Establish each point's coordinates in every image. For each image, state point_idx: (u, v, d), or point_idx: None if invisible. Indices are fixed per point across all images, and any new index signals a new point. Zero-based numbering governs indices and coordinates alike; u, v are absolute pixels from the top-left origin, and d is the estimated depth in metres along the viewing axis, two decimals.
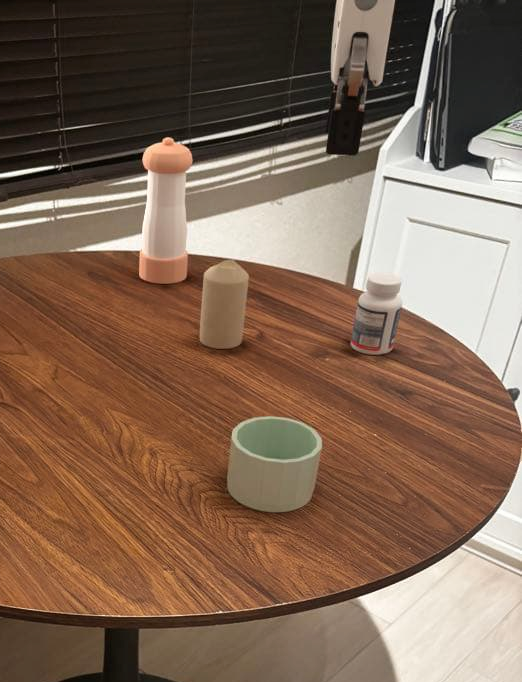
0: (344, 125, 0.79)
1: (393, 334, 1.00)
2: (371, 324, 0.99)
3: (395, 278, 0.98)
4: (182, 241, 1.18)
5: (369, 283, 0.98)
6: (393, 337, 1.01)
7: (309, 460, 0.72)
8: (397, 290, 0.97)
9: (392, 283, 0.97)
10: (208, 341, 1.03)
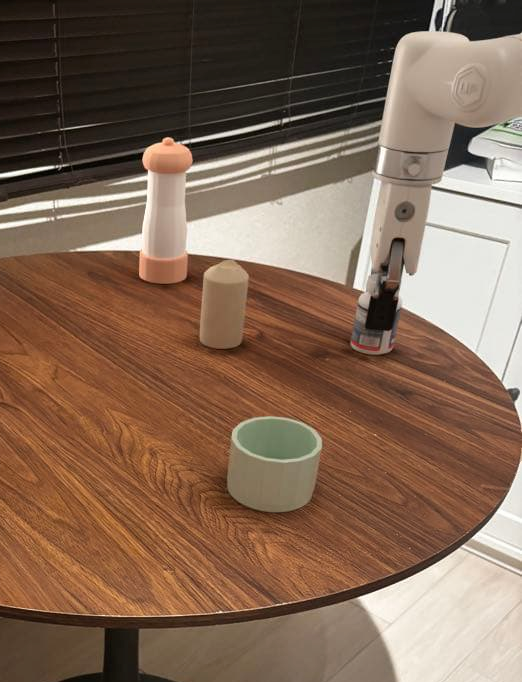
0: (381, 310, 0.96)
1: (393, 334, 1.00)
2: None
3: None
4: (182, 241, 1.18)
5: (369, 283, 0.98)
6: (393, 337, 1.01)
7: (309, 460, 0.72)
8: None
9: None
10: (208, 341, 1.03)
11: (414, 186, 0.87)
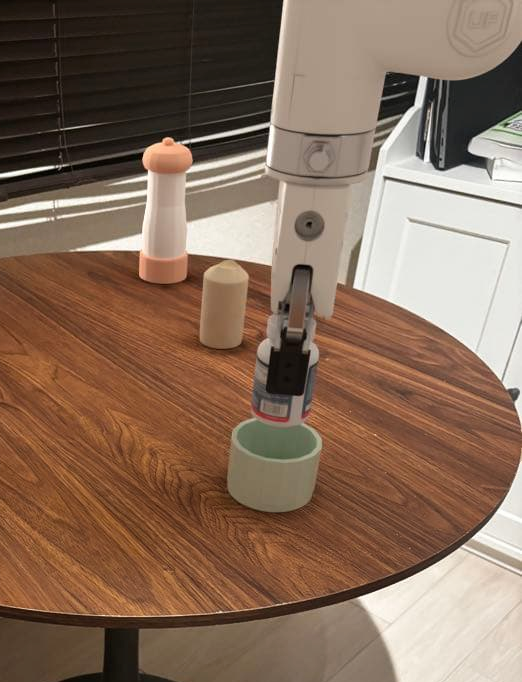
0: (286, 367, 0.66)
1: (307, 399, 0.70)
2: None
3: None
4: (182, 241, 1.18)
5: (269, 327, 0.67)
6: (308, 403, 0.70)
7: (309, 460, 0.72)
8: None
9: None
10: (208, 341, 1.03)
11: (322, 187, 0.57)
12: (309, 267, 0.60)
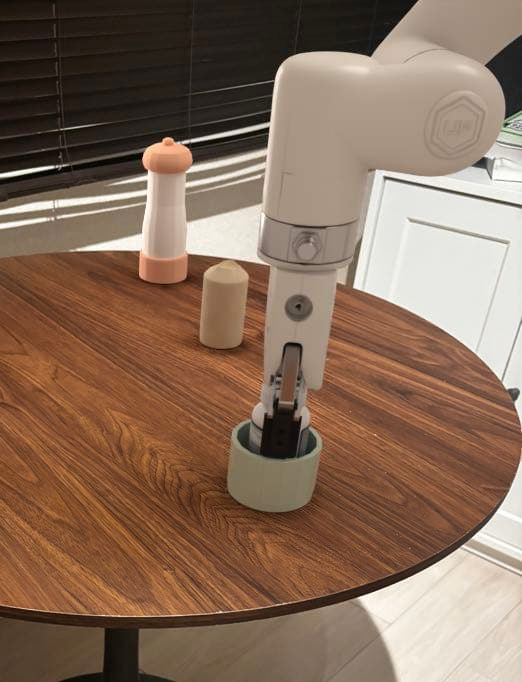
0: (279, 433, 0.70)
1: None
2: None
3: None
4: (182, 241, 1.18)
5: (263, 394, 0.71)
6: None
7: (309, 460, 0.72)
8: None
9: None
10: (208, 341, 1.03)
11: (310, 273, 0.61)
12: (299, 344, 0.64)
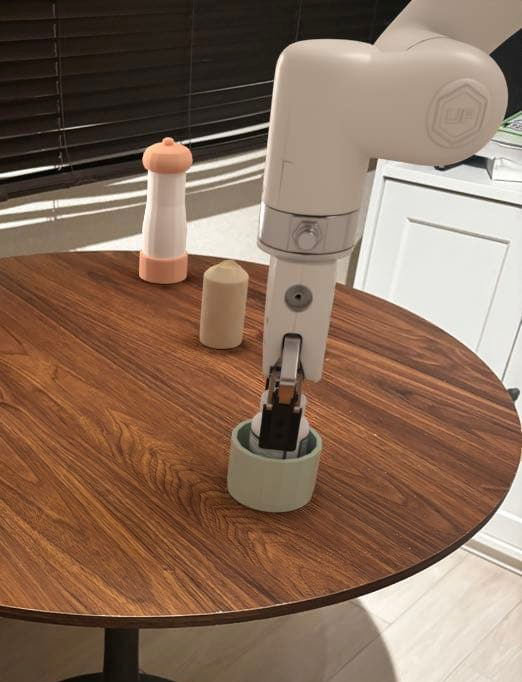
0: (278, 425, 0.67)
1: None
2: (267, 457, 0.73)
3: None
4: (182, 241, 1.18)
5: (262, 404, 0.72)
6: None
7: (309, 460, 0.72)
8: None
9: None
10: (208, 341, 1.03)
11: (310, 263, 0.60)
12: None
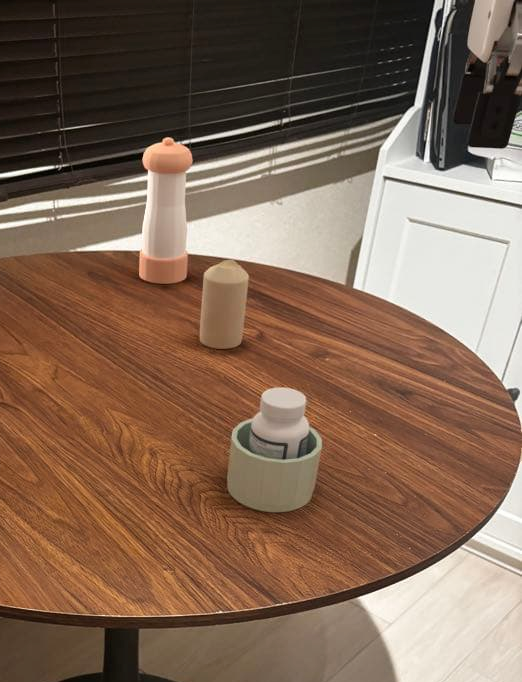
0: (495, 112, 0.65)
1: None
2: (267, 457, 0.73)
3: (297, 397, 0.72)
4: (182, 241, 1.18)
5: (262, 404, 0.72)
6: None
7: (309, 460, 0.72)
8: (300, 414, 0.71)
9: (292, 405, 0.71)
10: (208, 341, 1.03)
11: None
12: None
